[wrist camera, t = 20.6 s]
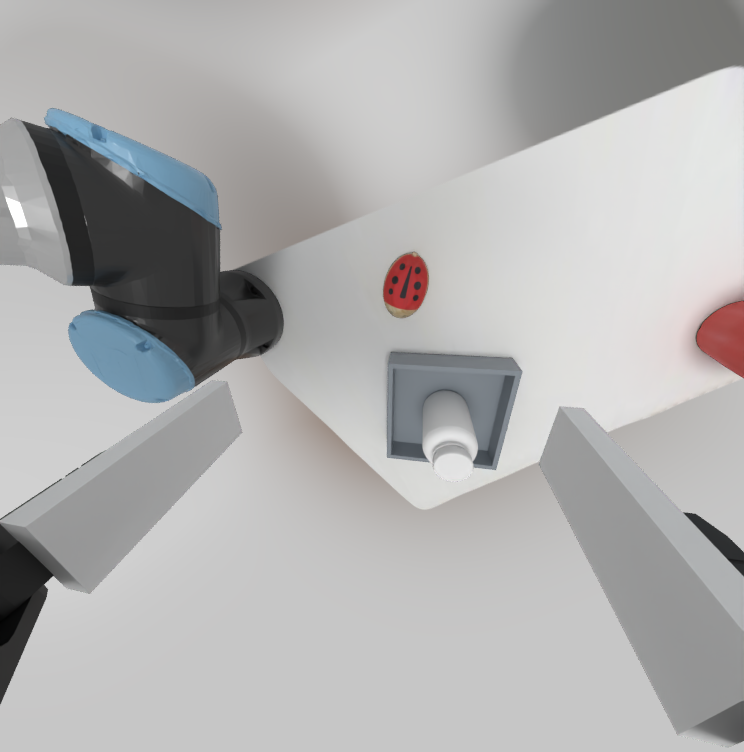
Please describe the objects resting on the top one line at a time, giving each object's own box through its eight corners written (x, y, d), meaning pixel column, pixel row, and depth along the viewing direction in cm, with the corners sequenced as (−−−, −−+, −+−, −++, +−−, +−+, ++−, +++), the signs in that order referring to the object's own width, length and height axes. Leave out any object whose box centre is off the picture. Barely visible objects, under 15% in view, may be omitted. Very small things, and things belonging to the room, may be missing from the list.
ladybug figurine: (379, 312, 44) (376, 317, 41) (391, 247, 39) (388, 247, 36) (419, 320, 44) (418, 326, 41) (435, 255, 39) (436, 256, 36)
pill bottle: (471, 391, 46) (490, 451, 33) (462, 427, 50) (475, 494, 37) (425, 385, 47) (426, 441, 34) (419, 421, 51) (418, 484, 38)
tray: (389, 440, 56) (386, 457, 51) (391, 352, 47) (387, 363, 42) (489, 450, 53) (496, 469, 48) (512, 358, 43) (522, 371, 39)
